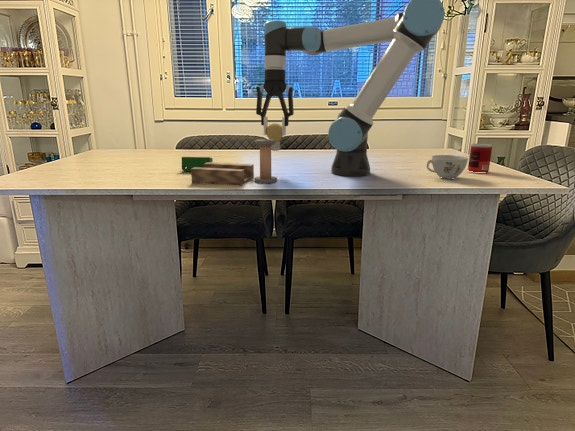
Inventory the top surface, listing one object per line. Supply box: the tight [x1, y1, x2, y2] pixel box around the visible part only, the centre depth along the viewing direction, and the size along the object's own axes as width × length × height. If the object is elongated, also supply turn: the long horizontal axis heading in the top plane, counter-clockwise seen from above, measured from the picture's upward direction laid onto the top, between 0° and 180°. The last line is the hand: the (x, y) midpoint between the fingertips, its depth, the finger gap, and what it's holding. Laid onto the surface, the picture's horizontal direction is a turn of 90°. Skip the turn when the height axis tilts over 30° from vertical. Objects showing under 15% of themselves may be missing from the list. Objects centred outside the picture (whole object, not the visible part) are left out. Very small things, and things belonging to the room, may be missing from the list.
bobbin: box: [253, 138, 278, 185], centre depth 140 cm, size 8×8×14 cm
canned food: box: [467, 143, 493, 173], centre depth 161 cm, size 8×8×11 cm
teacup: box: [426, 154, 469, 179], centre depth 149 cm, size 15×12×8 cm
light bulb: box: [266, 123, 283, 152], centre depth 150 cm, size 6×6×10 cm
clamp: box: [181, 156, 214, 172], centre depth 161 cm, size 12×6×9 cm, turn 80°
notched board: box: [190, 162, 255, 187], centre depth 143 cm, size 18×14×5 cm
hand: (274, 134), depth 150 cm, fingers closed on light bulb, 6 cm apart
